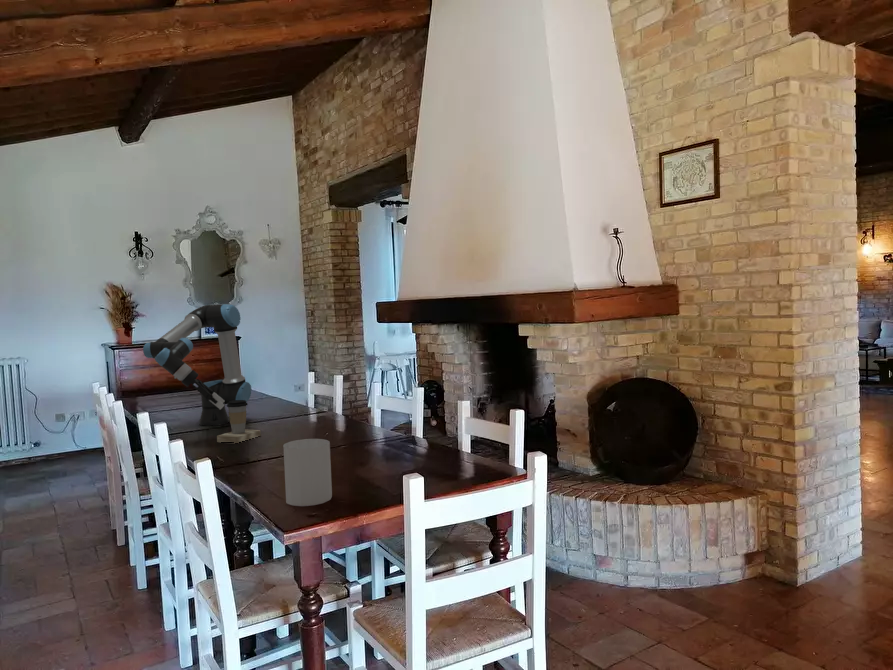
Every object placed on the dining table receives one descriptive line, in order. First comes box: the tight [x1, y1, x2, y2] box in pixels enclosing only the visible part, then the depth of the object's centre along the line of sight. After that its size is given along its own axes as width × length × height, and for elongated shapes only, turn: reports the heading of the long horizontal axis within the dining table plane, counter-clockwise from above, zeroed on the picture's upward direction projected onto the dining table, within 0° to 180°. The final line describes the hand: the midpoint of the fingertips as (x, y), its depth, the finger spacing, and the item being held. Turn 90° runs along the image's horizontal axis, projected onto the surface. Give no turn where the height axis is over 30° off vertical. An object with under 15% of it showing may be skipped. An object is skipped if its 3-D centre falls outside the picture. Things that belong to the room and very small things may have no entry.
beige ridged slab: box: [216, 428, 262, 444], centre depth 304 cm, size 16×12×3 cm
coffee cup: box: [226, 400, 249, 434], centre depth 304 cm, size 9×9×15 cm
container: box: [282, 438, 333, 507], centre depth 206 cm, size 14×14×18 cm
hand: (222, 405), depth 301 cm, fingers open, 13 cm apart
